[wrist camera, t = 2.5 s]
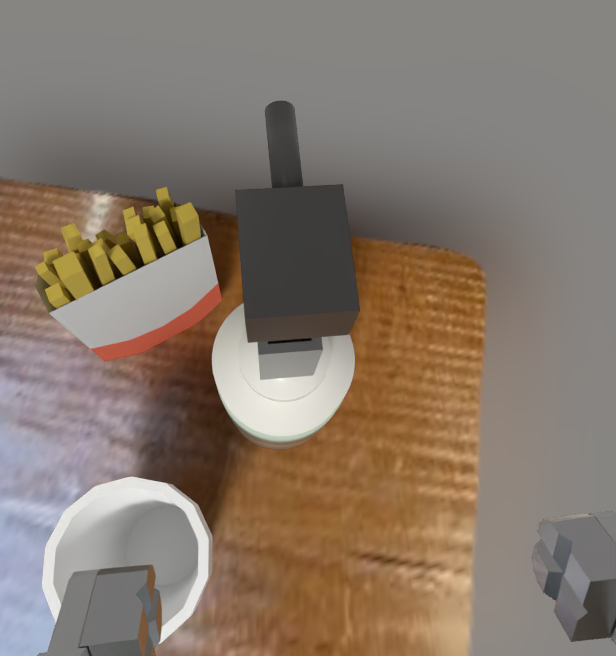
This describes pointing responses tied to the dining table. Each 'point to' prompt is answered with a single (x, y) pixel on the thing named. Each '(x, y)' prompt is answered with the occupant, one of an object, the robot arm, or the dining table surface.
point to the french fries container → (132, 280)
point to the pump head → (294, 247)
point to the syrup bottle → (280, 383)
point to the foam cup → (134, 543)
